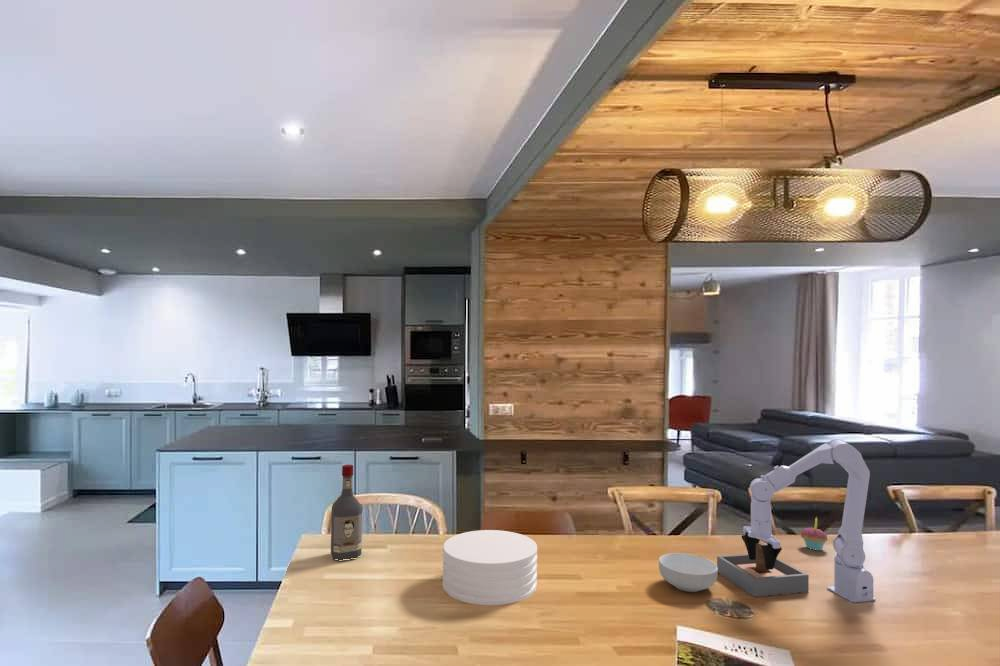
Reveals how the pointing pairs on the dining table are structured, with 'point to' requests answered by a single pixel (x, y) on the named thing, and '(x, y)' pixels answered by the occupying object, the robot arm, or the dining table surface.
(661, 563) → the cereal bowl
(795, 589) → the box
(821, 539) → the cupcake
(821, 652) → the dining table surface
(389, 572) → the dining table surface
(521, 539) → the plate stack
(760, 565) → the peg
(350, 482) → the liquor
